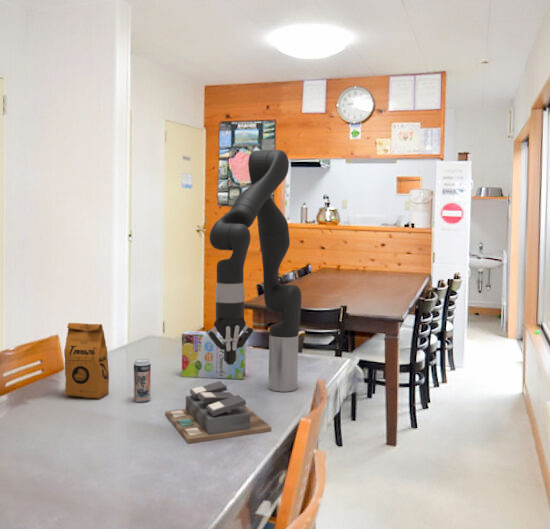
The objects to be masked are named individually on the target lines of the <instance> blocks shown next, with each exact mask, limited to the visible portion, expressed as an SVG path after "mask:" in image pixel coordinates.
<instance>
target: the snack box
mask: <svg viewBox="0 0 550 529" xmlns="http://www.w3.org/2000/svg"><path fill="white" fill-rule="evenodd" d="M206 332H207V331H201V330H200V331H196V330H185V331H184V332H182V334H181V377H182V378H187V377H188V378H202V379H204V378H205V379H208V378H209V379H230V380H234V379H235V380H244V378H245V377H246V369H247V368H246V365H247V364H246V359H247V358H246V355H247V354H246V349H247V348H246V347H247V343H246V342H247V341H246V342H245V344H244V345H243V347H241V348H238V349H237V350H236V361H235V362H234V364H231V365H228V364H227V363H226V362H225V361H224V350H223V349H220V348H218V347H217V346H216V344H215V343H214V342H213V341H212V340H211V338H210V337H209V336H208V335H207V333H206ZM216 332H217V336H216V337H217V338H218V339H219V340H220V342H221V343H222V344H223V341H222V336H221V335H220V334H219V332H218V331H216ZM242 333H243V332H241V333H240V334H239V336H238V339H239V337H240V336H241V334H242Z"/></svg>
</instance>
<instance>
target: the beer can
mask: <svg viewBox="0 0 550 529" xmlns="http://www.w3.org/2000/svg"><path fill="white" fill-rule="evenodd" d="M151 366H152V365H151V361H150V360H149V359H148V358H137V359H136V360H135V361H134V363H133V401H135V402H137V403H146V402H145V401H147V402H148V401H149V400H151V399H152V398H151V397H152V396H151V395H152V394H151V391H152V390H151V386H152V385H151V383H152V380H151V378H152V376H151V375H152V374H151Z"/></svg>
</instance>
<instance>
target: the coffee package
mask: <svg viewBox="0 0 550 529" xmlns="http://www.w3.org/2000/svg"><path fill="white" fill-rule="evenodd" d="M66 327H67V333H66V341H65V346H64V352H63V353H64V354H63V355H64V370H65V371H64V375H65V384H64V385H65V391H64V394H65V396H71V397H78V398H79V397H80V398H84V399H85V398H86V399H98V400H100V399H102V398H103V397H104V396H107V395H109V392H110V390H109V385H110V370H109V359H108V347H107V343H106V338H105V332H104V327H103V324H102V323H81V322H80V323H77V322H68V324H67V326H66Z"/></svg>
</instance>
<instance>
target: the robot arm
mask: <svg viewBox="0 0 550 529" xmlns="http://www.w3.org/2000/svg"><path fill="white" fill-rule="evenodd" d="M286 153H287V152H285V151H283V150H281V149H264V150H253V151H252V152H250V154H249V157H248V163H247V165H248V174H249V179H250V184H251V185H250V186H249V187H248V188H246V189H244V191H242V192H241V193H240V194H239V195H238V197H237V198H236V199H235V201H234V203H233V205H232V206H231V207H230V210H228V211H227V212H226V213H225V214H224V215H223V216H222V217H220V218H219V219H217V221H216V222H215V223H214V224H213V226H212V227H211V230H210V231H209V242H210V245H211V246H212V247H213V248H214V249H216V250H218V251H232V253H231V255H230V258H226V259H221V260H219V261H218V262H217V264H216V285H215V321H214V323H213V327H212V328H211V329H208V330H206V331H205V332H206V333H207V335H208V336H209V337H210V338H211V340H212V341H213V342H214V343H215V344H216V346H217V347H218V348H220V349H223V350H224V361H225V362H226V363H227V364H228V365H231V364H234V362H235V361H236V350H237V349H238V348H241V347H243V345H244V344H245V342H247V341H248V339H249V338H250V337H251V335H252V334H253V332H254V329H253V328H252V327H250V326H248V325H247V324H246V320H245V285H244V267H245V262H246V258H247V254H248V250H249V246H250V244H251V232H250V229H249V228H250V227H251V226H252V225H253V224H254V222H255V220H256V221H257V230H258V237H259V238H258V240H259V246H260V253H261V262H262V274H263V276H262V277H263V278H262V280H263V297H264V298H263V299H264V300H263V301H264V305H265V307H266V309H267V311H269V312H270V313H276V314H284V316H283V320H282V321H280V322H277V323H273V324H271V325H270V326H269V340H268V346H269V347H268V389H269V390H271V391H274V392H282V393H283V392H284V393H285V392H286V393H287V392H293V391H296V390H297V389H298V377H299V376H298V374H299V373H298V372H299V370H298V369H299V367H298V366H299V364H298V363H299V330H300V326H301V325H300V324H301V314H302V313H301V311H302V309H301V308H302V292H301V289H300V287H299V286H297V285H295V284H288V283H287V284H286V283H280V281H279V270H280V266H281V264H282V262H283V261H284V259H285V257H286V255H287V252H288V250H289V247H290V243H291V241H290V239H291V238H290V229H289V224H288V221H287V219H286V217H285V215H284V214H283V212H282V211H281V209H280V208H279V207H278V206H277V204H276V203H275V201H274V200H273V199H272V195H273V193H274V192H276V190H277V189H278V188H279V186H280V185H281V184H282V183H283V182H284V180H285V179H286V177H287V175H288V174H289V170H290V164H289V163H290V161H289V157H288V155H287V154H286ZM217 332H219V334H220V335H221V336H222V341H223V344H222V343H221V342H220V340H219V339H218V338H217V337H216V336H217ZM240 333H242V334H241V336H240V337H239V339H238V336H239V334H240Z"/></svg>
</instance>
